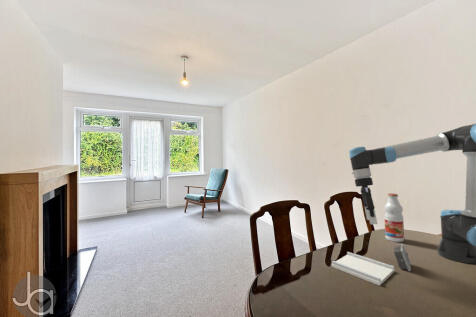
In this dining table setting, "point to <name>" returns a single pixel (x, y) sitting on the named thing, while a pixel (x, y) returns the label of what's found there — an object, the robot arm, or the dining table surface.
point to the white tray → (364, 268)
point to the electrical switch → (402, 257)
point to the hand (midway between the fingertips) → (372, 221)
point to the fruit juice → (394, 219)
